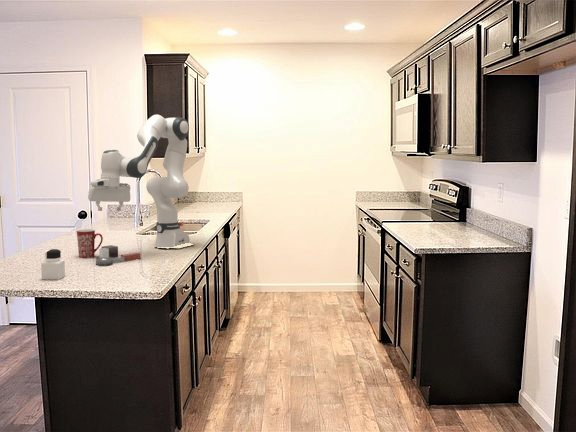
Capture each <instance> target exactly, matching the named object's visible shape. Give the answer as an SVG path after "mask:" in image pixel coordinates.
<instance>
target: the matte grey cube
mask: <svg viewBox="0 0 576 432" xmlns="http://www.w3.org/2000/svg"><path fill="white" fill-rule="evenodd" d="M101 248H108V249H109V257H112V258H114V257H119V247H118V246H116V245H113V244H112V245H111V244H110V245H104V246H101Z"/></svg>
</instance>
